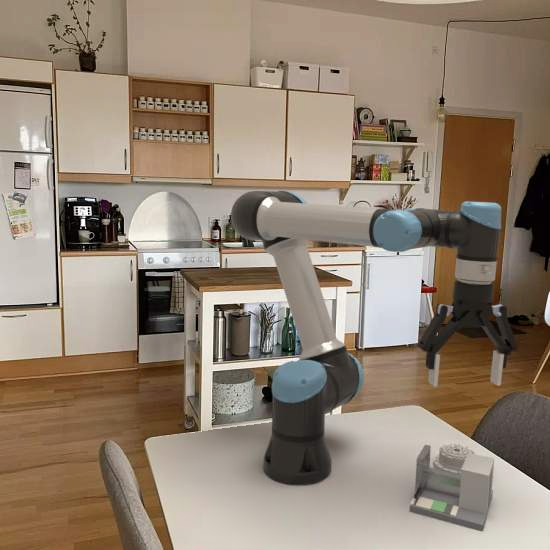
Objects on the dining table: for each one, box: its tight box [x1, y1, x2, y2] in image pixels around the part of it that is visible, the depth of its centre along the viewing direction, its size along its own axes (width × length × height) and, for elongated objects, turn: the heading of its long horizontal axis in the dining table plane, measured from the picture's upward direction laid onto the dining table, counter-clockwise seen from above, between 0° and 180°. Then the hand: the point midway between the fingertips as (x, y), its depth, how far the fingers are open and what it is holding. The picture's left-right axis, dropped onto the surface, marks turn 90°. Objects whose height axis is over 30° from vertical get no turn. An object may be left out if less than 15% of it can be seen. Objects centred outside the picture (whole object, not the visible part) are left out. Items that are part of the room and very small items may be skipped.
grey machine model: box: [413, 444, 461, 499], centre depth 111 cm, size 11×10×7 cm
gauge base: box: [409, 453, 495, 532], centre depth 111 cm, size 14×14×9 cm
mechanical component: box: [432, 443, 475, 475], centre depth 127 cm, size 10×4×10 cm
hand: (464, 383), depth 114 cm, fingers open, 13 cm apart
